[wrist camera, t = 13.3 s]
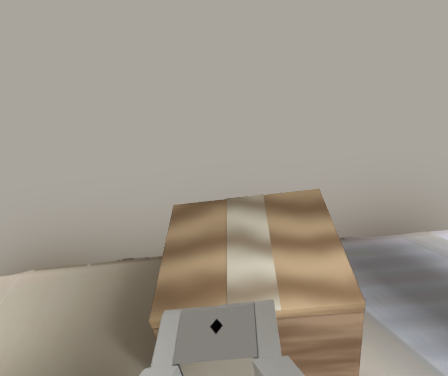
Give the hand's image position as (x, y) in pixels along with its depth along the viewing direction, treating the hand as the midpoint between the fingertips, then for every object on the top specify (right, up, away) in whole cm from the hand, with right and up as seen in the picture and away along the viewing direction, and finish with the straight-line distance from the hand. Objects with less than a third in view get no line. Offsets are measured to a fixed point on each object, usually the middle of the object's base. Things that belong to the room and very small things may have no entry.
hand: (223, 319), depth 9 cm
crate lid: (+3, -4, +29) cm, 30 cm away
